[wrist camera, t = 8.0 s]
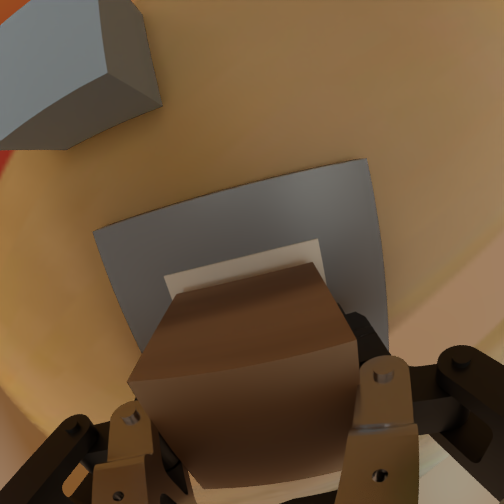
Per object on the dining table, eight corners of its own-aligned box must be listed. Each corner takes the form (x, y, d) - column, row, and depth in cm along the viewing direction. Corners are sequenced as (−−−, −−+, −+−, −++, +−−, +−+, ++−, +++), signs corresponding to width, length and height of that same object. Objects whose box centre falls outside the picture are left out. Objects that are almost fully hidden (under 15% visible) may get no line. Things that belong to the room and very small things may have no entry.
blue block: (53, 62, 10) (-13, 36, 5) (142, 15, 9) (95, -41, 4) (66, 150, 11) (-12, 150, 6) (163, 106, 11) (107, 72, 6)
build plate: (103, 226, 12) (91, 232, 11) (357, 158, 11) (367, 158, 10) (186, 414, 15) (182, 428, 14) (382, 374, 14) (389, 387, 13)
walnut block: (176, 294, 11) (126, 382, 6) (312, 261, 10) (356, 339, 5) (217, 394, 12) (203, 488, 7) (331, 371, 12) (362, 464, 7)
